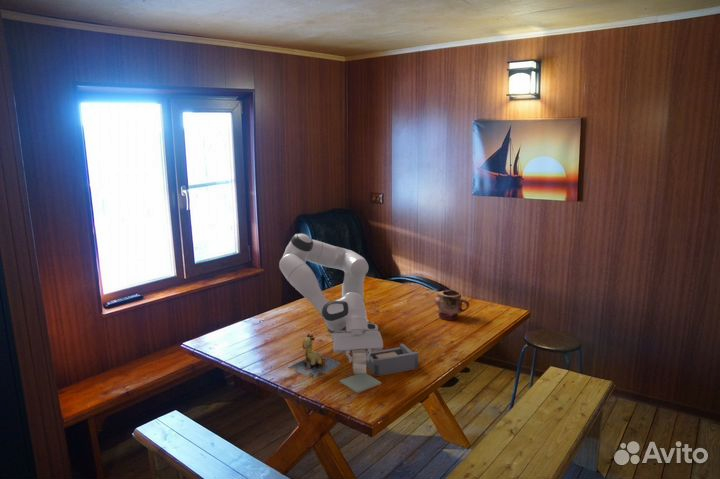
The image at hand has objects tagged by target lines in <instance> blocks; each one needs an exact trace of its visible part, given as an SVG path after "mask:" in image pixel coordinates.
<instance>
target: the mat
mask: <svg viewBox="0 0 720 479" xmlns="http://www.w3.org/2000/svg"><path fill="white" fill-rule="evenodd" d="M339 382H340V383H341V384H343V385H344V386H345V387H347V388H349V389H350V390H352V391H353V392H355V393H357V394H359V393H361V392H364V391H366V390H367V391H368V390H369V389H372V388H374V387H378V386H379V385H382V382H381V381H379V380H378V379H376V377H375V378H374V377H373V376H371V375H370V374H367V372H366V373H358V374H353V375H351V376H348V377H345V378H342V379H340V380H339Z"/></svg>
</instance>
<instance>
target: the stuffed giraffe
mask: <svg viewBox="0 0 720 479" xmlns="http://www.w3.org/2000/svg"><path fill="white" fill-rule="evenodd" d="M315 339H316V337H314V334H311V333H308V334H307V335H306V337H305V339H304V340H303V343H302V349H303V350H305V355H304V356H305V358H304V359H302V360H299V361H298V362H296V363H293V365H291V366H289V367H287V368H288V369H293V371H295V372H297V373H299V374H301V375H303V376H305V377H308V376H309V375H310V374H311V375H313V377H312V379H313V380H314V379H316V378H317V377H318V374H319V373H321V374H323V375H324V374H326V373H328V372H330V371H332V370H334V369H336V368H338V367H340V366H341V362H339V361H338V360H335V359H332V358H330V357H327V356H323V354H321V353H319V352H317V351H315V350H312V349H313V341H315ZM324 358H325V361H324ZM322 360H323V361H324V364H325V365H324V366H322V363H323V361H322ZM305 368H307V369H305Z"/></svg>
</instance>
